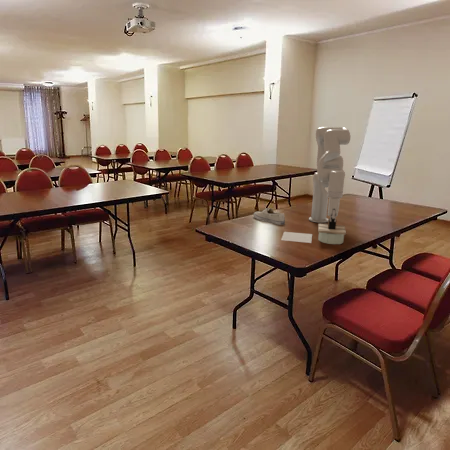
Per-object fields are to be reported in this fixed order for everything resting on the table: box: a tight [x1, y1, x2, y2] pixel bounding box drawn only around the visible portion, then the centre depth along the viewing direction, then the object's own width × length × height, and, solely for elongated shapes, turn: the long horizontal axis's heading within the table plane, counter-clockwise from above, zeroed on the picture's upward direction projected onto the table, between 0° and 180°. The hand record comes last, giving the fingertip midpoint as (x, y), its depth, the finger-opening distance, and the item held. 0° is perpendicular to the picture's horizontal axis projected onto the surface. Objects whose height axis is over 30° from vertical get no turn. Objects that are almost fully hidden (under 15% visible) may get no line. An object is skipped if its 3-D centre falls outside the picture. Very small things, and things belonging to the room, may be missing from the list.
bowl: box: [318, 232, 345, 245], centre depth 200 cm, size 13×13×6 cm
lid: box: [317, 218, 347, 236], centre depth 198 cm, size 14×14×6 cm
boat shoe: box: [253, 207, 286, 226], centre depth 239 cm, size 25×9×9 cm, turn 38°
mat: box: [280, 231, 313, 244], centre depth 205 cm, size 16×16×1 cm
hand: (331, 227), depth 199 cm, fingers closed on lid, 3 cm apart
